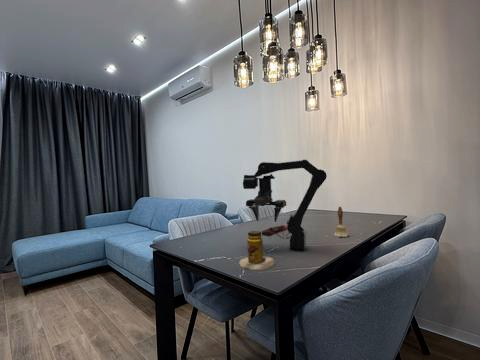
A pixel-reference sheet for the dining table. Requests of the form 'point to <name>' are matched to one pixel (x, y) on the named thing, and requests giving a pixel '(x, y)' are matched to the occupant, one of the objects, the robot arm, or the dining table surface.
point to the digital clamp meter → (275, 231)
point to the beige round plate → (268, 264)
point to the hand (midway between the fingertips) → (266, 221)
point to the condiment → (255, 248)
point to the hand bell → (340, 225)
